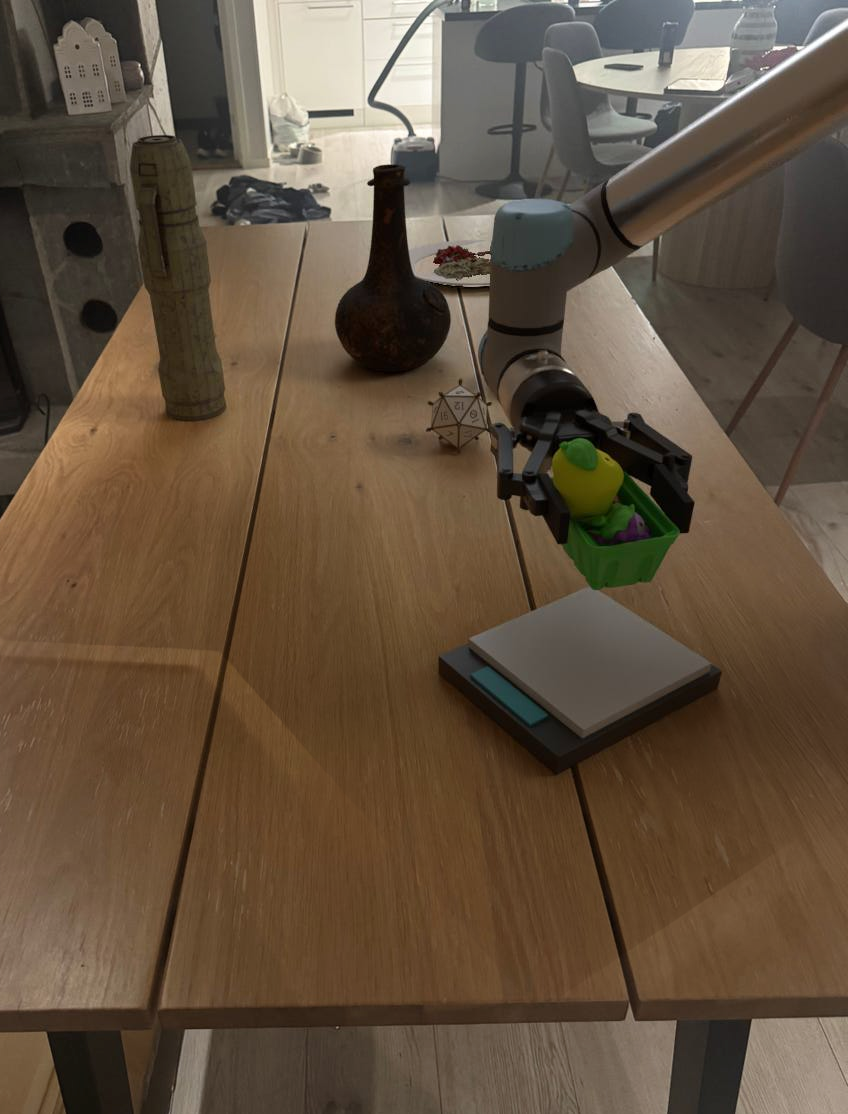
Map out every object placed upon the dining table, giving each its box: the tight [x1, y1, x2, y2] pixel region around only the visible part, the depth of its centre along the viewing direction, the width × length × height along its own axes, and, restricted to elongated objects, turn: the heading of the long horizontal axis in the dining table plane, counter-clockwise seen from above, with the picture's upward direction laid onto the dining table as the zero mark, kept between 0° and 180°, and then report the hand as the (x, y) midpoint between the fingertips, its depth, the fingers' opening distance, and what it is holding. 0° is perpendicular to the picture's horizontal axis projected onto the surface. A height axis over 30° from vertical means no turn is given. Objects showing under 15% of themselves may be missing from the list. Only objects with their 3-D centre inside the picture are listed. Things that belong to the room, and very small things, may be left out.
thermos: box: [129, 134, 227, 421], centre depth 128 cm, size 9×12×35 cm
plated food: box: [409, 239, 491, 286], centre depth 187 cm, size 30×30×3 cm
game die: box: [425, 377, 493, 456], centre depth 124 cm, size 9×8×10 cm
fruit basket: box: [550, 438, 681, 591], centre depth 77 cm, size 11×9×11 cm
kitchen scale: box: [437, 585, 723, 776], centre depth 85 cm, size 16×19×3 cm
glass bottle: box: [334, 163, 452, 373], centre depth 142 cm, size 18×18×28 cm
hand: (625, 523), depth 73 cm, fingers closed on fruit basket, 9 cm apart
